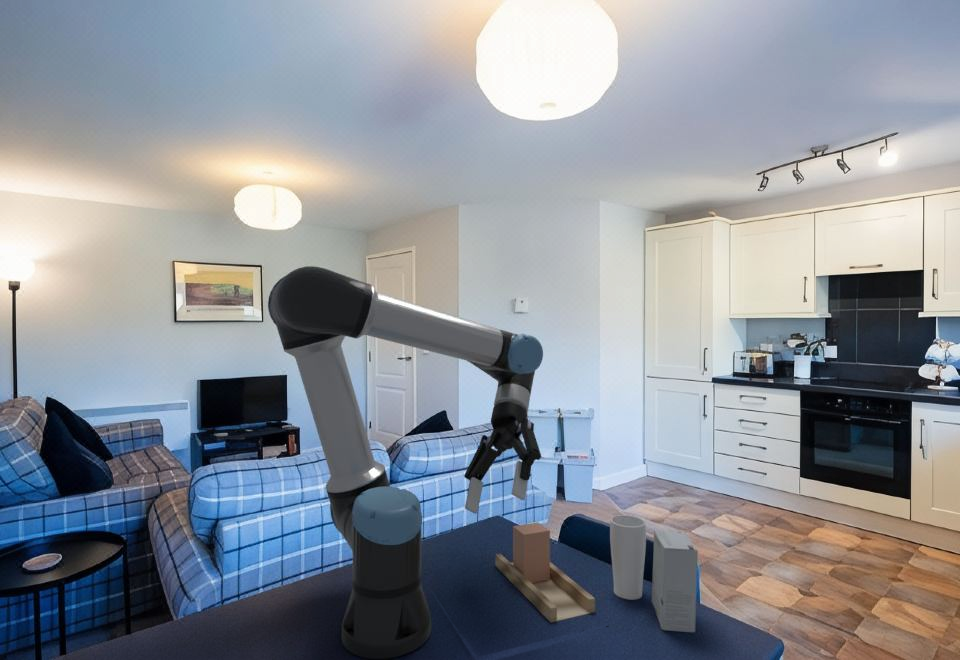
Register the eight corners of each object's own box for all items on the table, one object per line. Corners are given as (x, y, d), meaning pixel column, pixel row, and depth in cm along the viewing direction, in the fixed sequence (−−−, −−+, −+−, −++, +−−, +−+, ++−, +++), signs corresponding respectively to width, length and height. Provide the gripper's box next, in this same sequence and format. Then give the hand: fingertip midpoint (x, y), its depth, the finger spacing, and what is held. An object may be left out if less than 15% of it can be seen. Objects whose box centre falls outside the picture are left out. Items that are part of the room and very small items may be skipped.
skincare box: (651, 607, 97) (651, 528, 97) (684, 608, 96) (683, 529, 96) (662, 632, 88) (662, 546, 89) (698, 634, 88) (698, 547, 88)
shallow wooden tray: (495, 569, 112) (495, 554, 112) (532, 562, 115) (532, 547, 115) (550, 628, 90) (550, 608, 90) (594, 617, 93) (595, 598, 93)
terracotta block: (512, 573, 107) (513, 526, 108) (538, 569, 110) (538, 522, 110) (523, 584, 103) (523, 534, 103) (549, 579, 105) (549, 530, 105)
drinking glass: (611, 604, 98) (611, 525, 98) (608, 587, 104) (608, 513, 104) (648, 608, 96) (648, 528, 96) (643, 590, 103) (643, 515, 103)
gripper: (565, 399, 104) (555, 499, 90) (486, 434, 120) (467, 523, 106) (539, 381, 101) (525, 481, 87) (461, 419, 117) (439, 508, 103)
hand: (493, 504), depth 96 cm, fingers open, 13 cm apart
